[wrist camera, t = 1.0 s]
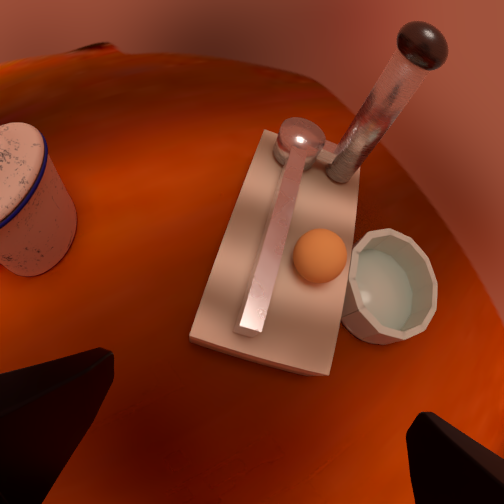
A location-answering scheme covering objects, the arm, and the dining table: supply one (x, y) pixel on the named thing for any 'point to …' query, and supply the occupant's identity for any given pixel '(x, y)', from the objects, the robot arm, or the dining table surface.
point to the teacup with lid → (31, 203)
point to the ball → (320, 255)
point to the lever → (335, 155)
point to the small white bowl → (388, 288)
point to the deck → (279, 271)
